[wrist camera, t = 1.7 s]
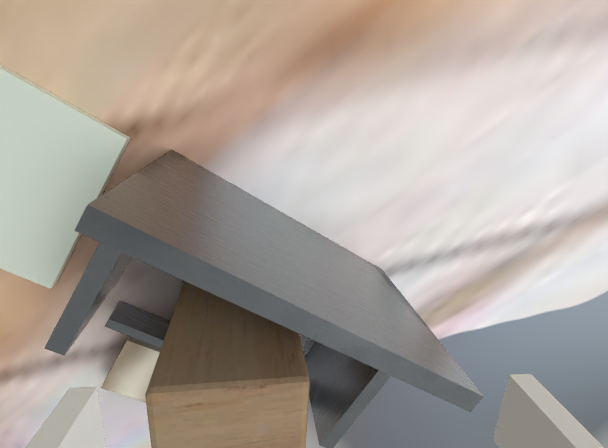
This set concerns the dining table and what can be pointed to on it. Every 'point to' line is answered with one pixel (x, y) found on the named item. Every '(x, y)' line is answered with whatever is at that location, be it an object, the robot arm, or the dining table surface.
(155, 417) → the wooden block
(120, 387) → the cream offcut
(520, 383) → the robot arm
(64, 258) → the sage mat
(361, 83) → the dining table surface
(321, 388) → the rack
